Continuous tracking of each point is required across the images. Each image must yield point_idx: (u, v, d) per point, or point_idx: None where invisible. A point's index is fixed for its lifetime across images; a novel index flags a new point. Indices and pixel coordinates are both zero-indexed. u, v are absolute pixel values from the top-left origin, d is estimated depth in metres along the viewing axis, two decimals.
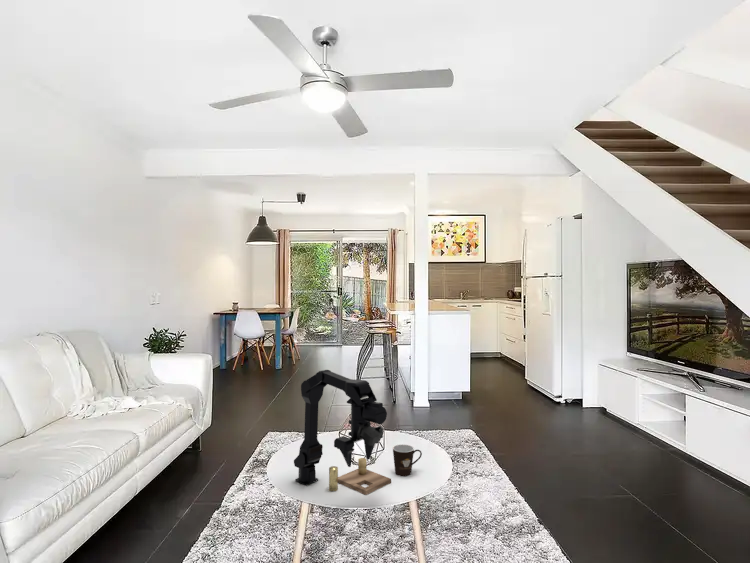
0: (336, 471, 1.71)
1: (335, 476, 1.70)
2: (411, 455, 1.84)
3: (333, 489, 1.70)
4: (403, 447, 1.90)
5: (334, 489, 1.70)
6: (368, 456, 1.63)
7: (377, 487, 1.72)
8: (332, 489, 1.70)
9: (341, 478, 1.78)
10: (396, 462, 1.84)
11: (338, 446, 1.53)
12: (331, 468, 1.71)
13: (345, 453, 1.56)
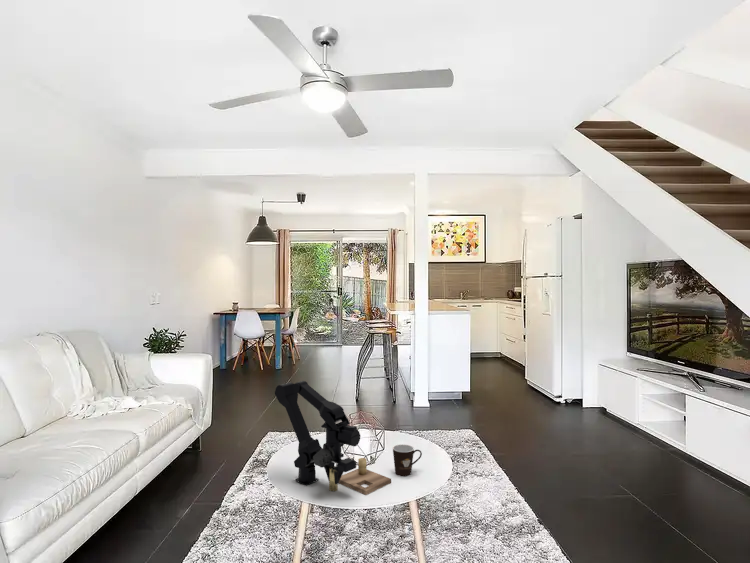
0: None
1: None
2: (411, 455, 1.84)
3: (333, 489, 1.70)
4: (403, 447, 1.90)
5: (334, 489, 1.70)
6: None
7: (377, 487, 1.72)
8: (332, 489, 1.70)
9: (341, 478, 1.78)
10: (396, 462, 1.84)
11: None
12: (331, 468, 1.71)
13: None
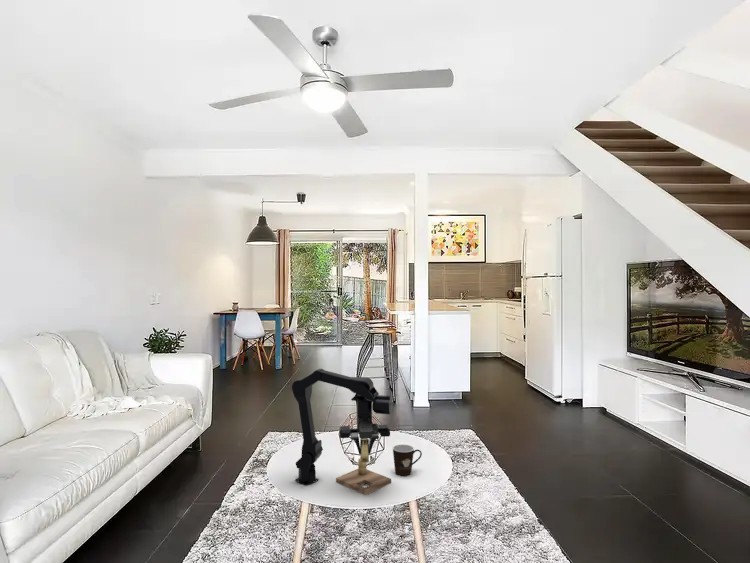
0: (368, 441, 1.73)
1: (368, 446, 1.73)
2: (411, 455, 1.84)
3: (367, 459, 1.72)
4: (403, 447, 1.90)
5: (368, 459, 1.72)
6: None
7: (377, 487, 1.72)
8: (367, 460, 1.72)
9: (341, 478, 1.78)
10: (396, 462, 1.84)
11: (339, 433, 1.72)
12: (364, 440, 1.72)
13: None
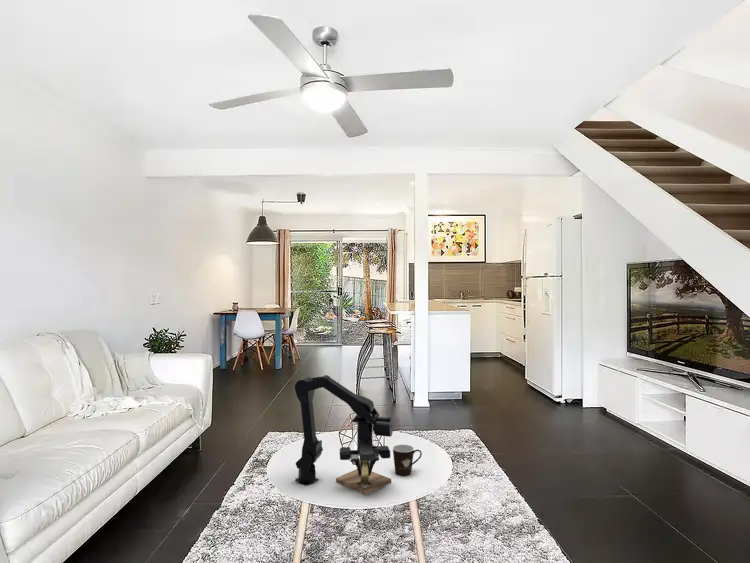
0: (368, 463, 1.73)
1: (368, 468, 1.73)
2: (411, 455, 1.84)
3: (367, 481, 1.72)
4: (403, 447, 1.90)
5: (368, 481, 1.73)
6: None
7: (377, 487, 1.72)
8: (367, 481, 1.72)
9: (341, 478, 1.78)
10: (396, 462, 1.84)
11: None
12: (365, 462, 1.72)
13: None
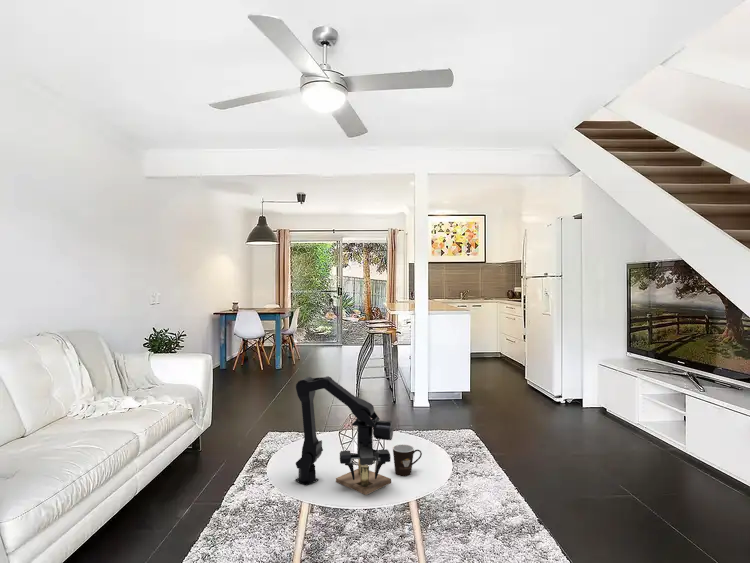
0: (368, 468, 1.73)
1: (368, 473, 1.73)
2: (411, 455, 1.84)
3: None
4: (403, 447, 1.90)
5: None
6: (375, 476, 1.73)
7: (377, 487, 1.72)
8: None
9: (341, 478, 1.78)
10: (396, 462, 1.84)
11: None
12: (365, 467, 1.72)
13: None
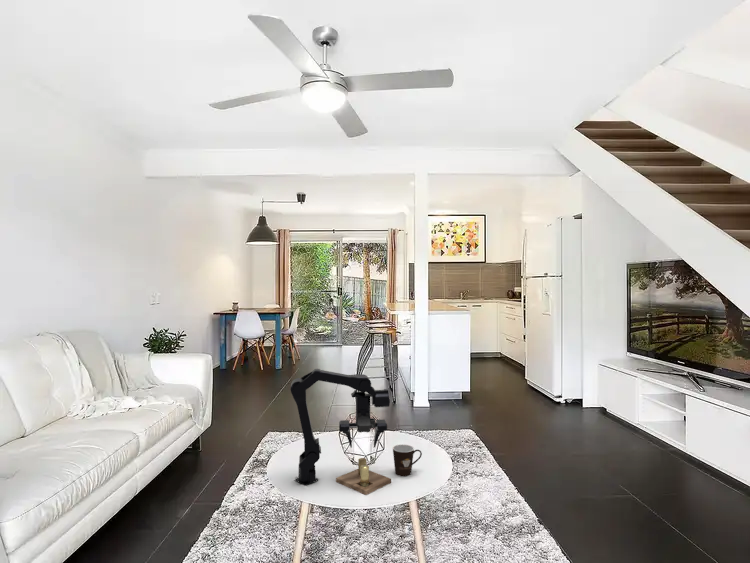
0: (368, 468, 1.73)
1: (368, 473, 1.73)
2: (411, 455, 1.84)
3: None
4: (403, 447, 1.90)
5: None
6: (374, 444, 1.82)
7: (377, 487, 1.72)
8: None
9: (341, 478, 1.78)
10: (396, 462, 1.84)
11: None
12: (365, 467, 1.72)
13: None
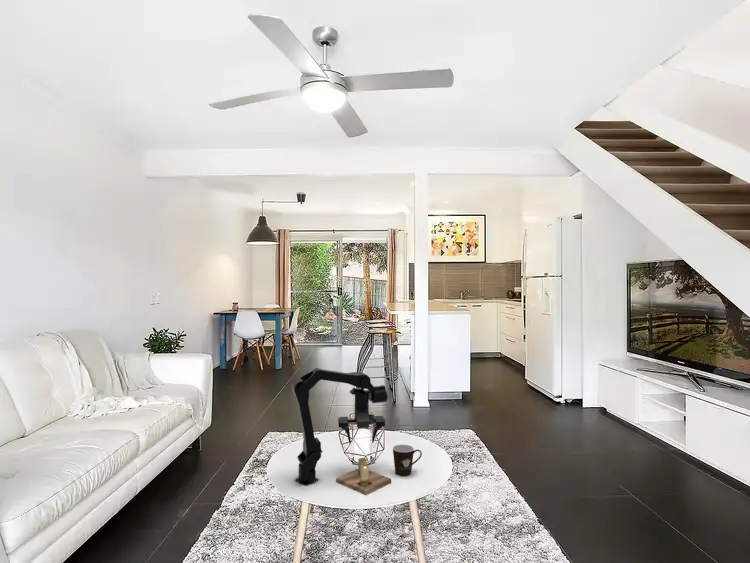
0: (368, 468, 1.73)
1: (368, 473, 1.73)
2: (411, 455, 1.84)
3: None
4: (403, 447, 1.90)
5: None
6: (372, 439, 1.87)
7: (377, 487, 1.72)
8: None
9: (341, 478, 1.78)
10: (396, 462, 1.84)
11: (338, 423, 1.86)
12: (365, 467, 1.72)
13: None
